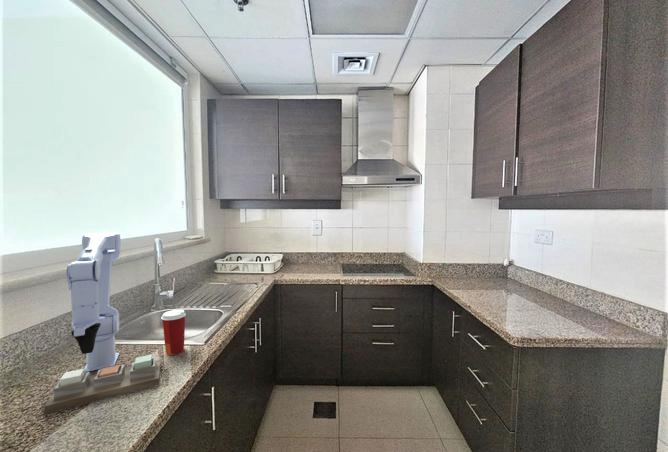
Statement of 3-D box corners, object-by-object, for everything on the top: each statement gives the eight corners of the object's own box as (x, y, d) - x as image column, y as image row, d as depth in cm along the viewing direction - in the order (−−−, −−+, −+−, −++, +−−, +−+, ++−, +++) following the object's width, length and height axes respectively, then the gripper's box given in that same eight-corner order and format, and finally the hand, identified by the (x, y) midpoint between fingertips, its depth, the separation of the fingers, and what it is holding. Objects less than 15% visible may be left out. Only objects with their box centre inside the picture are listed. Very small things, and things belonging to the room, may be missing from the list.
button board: (61, 388, 81) (60, 373, 81) (160, 365, 93) (160, 352, 93) (44, 414, 71) (43, 396, 71) (159, 385, 82) (158, 370, 82)
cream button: (65, 381, 79) (65, 372, 79) (84, 376, 81) (84, 368, 81) (60, 388, 75) (60, 379, 75) (80, 384, 77) (80, 375, 77)
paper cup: (191, 346, 107) (189, 308, 106) (180, 356, 99) (179, 316, 98) (169, 346, 107) (168, 309, 106) (157, 357, 99) (155, 316, 98)
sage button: (136, 365, 86) (136, 357, 86) (152, 362, 88) (151, 354, 88) (134, 371, 83) (134, 363, 83) (151, 368, 85) (150, 360, 85)
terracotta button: (102, 376, 83) (102, 368, 83) (120, 372, 85) (119, 364, 84) (99, 383, 79) (99, 375, 79) (117, 379, 81) (117, 371, 81)
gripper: (97, 308, 76) (100, 359, 76) (108, 295, 88) (110, 339, 89) (61, 313, 72) (64, 367, 73) (78, 299, 85) (80, 344, 86)
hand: (87, 352), depth 81 cm, fingers closed
